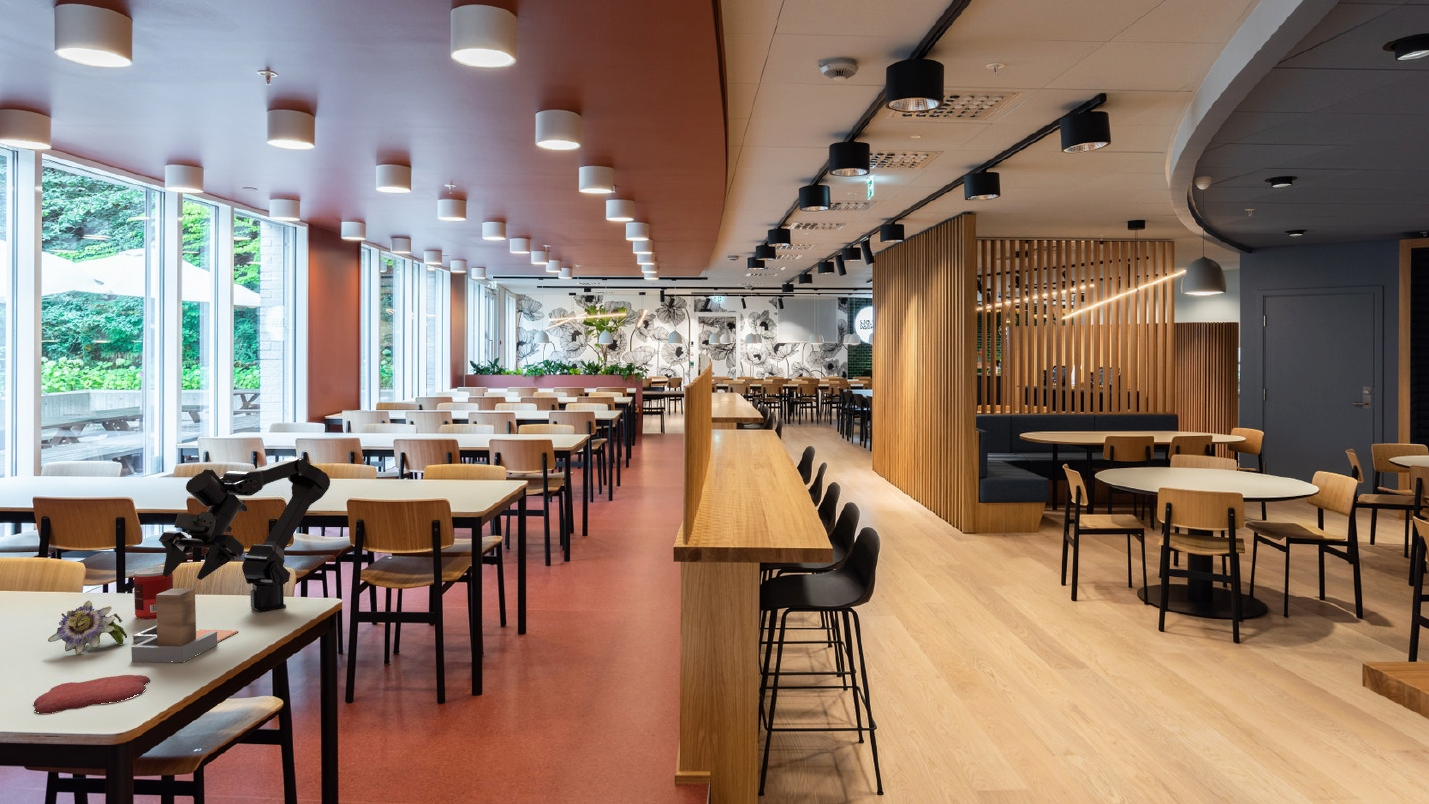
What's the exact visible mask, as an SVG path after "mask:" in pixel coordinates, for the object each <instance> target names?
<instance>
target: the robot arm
mask: <svg viewBox="0 0 1429 804" xmlns="http://www.w3.org/2000/svg"><path fill="white" fill-rule="evenodd" d="M285 478H287V480H288V481H289V482H290V483H291V484H292V485H291V487H290V488H291V498H290V500H289V501H288V503H287V504H286V506H285V508H284V509H283V511H282V513H281V515H280V516H279V518H278V519H277V521H276V523H275V524H274V526H273V528H272V529H271V531H270V533H269V534H268V536H267V538H266V539H265V541H264V542H263V543H262V544H252V545H251V546H250V548H249V550H248V552H247V554H246V555H245V556H244V557H243V559H244V560H243V562H242V565H241V569H242V573H243V576H244V579H245V581H246V584H247V585H250V584H252V589H251V590H250V608H252V609H253V610H254V611H256V612H259V613H261V612H266V611H272V610H277V609H283V608H286V607H287V604H286V603H285V602H284V599H285V597H284V596H285V594H284V585H286V583H288V582H289V581H290V578H291V572H290V570H289V571H288V570H287V568H286V567H285V566H284V563H285V549H286V547H287V546H288V544H289V542H290V541H291V539H292V538H293V535H294V534H295V532H296V531H297V529H298V527H299V525H300V524H301V522H302V521H303V519H304V517H305V515H306V513H307V512H308V510H309V508H310V507H311V505H312V504H314V503H316V502H317V501H319V500H321V499H322V498H323V496H324V495H326V493H327V492H328V490H329V488H330V485H331V479H330V477H329V475H328V473H326V472H324V471H323V470H322V469H321V468H318V467H317V466H315V465H313V464H311V463H309V462H308V461H307V460H306V459H304V458H302V457H286V458H284V459H282V460H280V461H276V462H273V463H269V464H266V465H263V466H259V467H258V468H257V467H256V468H254V469H243V470H242V469H240V470H239V469H238V470H228V471H227V472H225V473H224V474H223V476H222V477H219V476H218V475H217V473H216V472H215V470H213V469H210V468H209V469H208V468H206V469H205V468H204V469H203V471H202V472H200V473H198V474H196V475H194V476H193V477H192V478H190V479H189V480H188V481H187V482H186V485H185V490H186V491H187V492H188V493H189V494H190V495H191V496H192V497H193V498H194V499H195V500H196V501H198V502H199V503H200V504H201V505H202V506H203V507H209V508H208V509H207V510H206V511H201V512H200V513H198V514H194V513H183V512H182V513H180V512H179V513H177V517H176V520H175V523H174V526H173V528H176V529H184V530H186V531H185V533H186V534H187V535H188V536H191V537H187V536H186V535H185V534H183V532H181V531H172V530H168V531H164V532H163V533H162V534H161V535H160V537H159V538H158V542H159V543H161V545H162V546H163V547H164V548H165V551H166V553H165V559H164V560H165V561H164V570H163V576H164V577H168V576H169V575H170V574H171V573H172V572H174V571H175V570H176V569H177V568H178V567H179V566H180V565H181V564H182V562H183V563H184V561H185V560H186V559H187V557H188V554H187V553H189V552H191V550H192V549H193V548H197V549H198V548H199V549H208V555H207V557H206V559H205V560H204V562H203V564H202V566H201V568H200V569H199V572H198V574H197V576H196V578H197V579H198V580H199V581H202V580H203V579H204V578H206V577H208V576H209V575H210V574H212V573H213V572H215V571H217V570H218V569H219V568H221V567H222V566H224V565H227V563H229V562H231V561H235V558H236V559H240V558H241V557H242V556H243V554H244V551H245V545H244V544H243V543H242V542H241V541H240V540H238V538H236V537H235V536H234V535H233V534H226V533H231V531H232V530H233V528H232V527H231V526H230V525H231V524H232V522H233V521H234V519H235V517H236V515H238V512H241V513H243V512H244V513H246V512H247V511H248V507H247V505H246V500H244V499H239V498H238V496H241V497H243V496H244V497H250V496H253V495H255V494H257V493H259V492H260V491H262V489H263V488H264V486H266V485H267V484H271V483H274V482H276V481H281V480H282V479H285Z"/></svg>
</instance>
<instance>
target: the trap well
mask: <svg viewBox="0 0 1429 804" xmlns="http://www.w3.org/2000/svg"><path fill="white" fill-rule="evenodd" d="M155 636H157V624H156V625H154V626H152V627H149V628H147V629H144V630H142V631H140V632H137V633H136V634H134V635H132V641H133V642H132V643H141V642H144V641H146V640H148V639H150V638H152V637H155Z"/></svg>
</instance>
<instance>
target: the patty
mask: <svg viewBox="0 0 1429 804" xmlns="http://www.w3.org/2000/svg"><path fill="white" fill-rule="evenodd" d="M149 681H150V682H151V679H150V678H149V677H148V676H146V675H143V674H140V675H139V674H138V675H137V674H136V675H135V674H121V675H115V676H108V677H107V676H106V677H101V678H95V679H92V680H91V679H90V680H85V681H81V682H74V681H73V682H66V683H61V684H59V685H56V686H54V687H52V688H50V689H49V691H46V692H45V693H43V694H41V695H40V696H38V697H37V698H36V699H35V700H34V701H33V703H34V705H35V706H36V707H35V708H34V711H36V712H39V713H49V714H53V713H52V712H56V711H60V712H63V711H66V710H72V709H75V710H76V709H81V708H85V706H86V707H89V706H93V705H92V704H101V703H109V702H117V701H121V700H125V699H127V698H130V697H133V696H134V695H137V694H141V693H142V692H143V691H144V690H145V689H146V690H147V688H146V685H147V684H146V683H148V682H149ZM150 682H149V683H150ZM149 683H148V684H149ZM145 684H146V685H145ZM144 685H145V686H144ZM141 695H142V694H141ZM117 703H118V702H117ZM34 705H33V706H34ZM88 705H89V706H88ZM56 713H57V712H56Z"/></svg>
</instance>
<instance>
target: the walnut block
mask: <svg viewBox="0 0 1429 804" xmlns="http://www.w3.org/2000/svg"><path fill="white" fill-rule="evenodd" d="M156 609H157V618H156V625H157V646H177V647H182V646H184V645H186V644H188V643H190V642H192V641H194V640H196V631H197V622H196V621H197V619H196V618H197V617H196V616H197V615H196V611H197V610H196V588H174V587H173V588H172V589H170V590H167V591H164V592H162V593H159V594H156Z"/></svg>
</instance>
